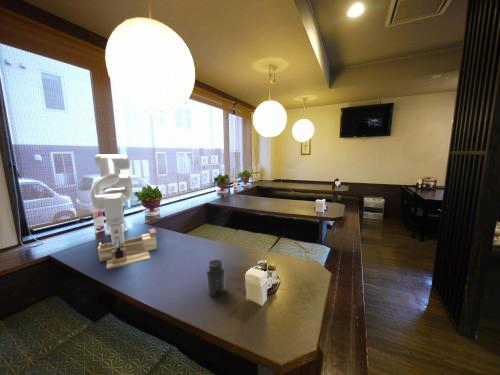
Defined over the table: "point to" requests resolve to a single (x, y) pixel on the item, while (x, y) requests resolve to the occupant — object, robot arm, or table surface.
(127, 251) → the light wooden long piece
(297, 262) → the table surface
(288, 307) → the table surface
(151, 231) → the brown wooden block
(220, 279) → the supplement bottle
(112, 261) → the lid
